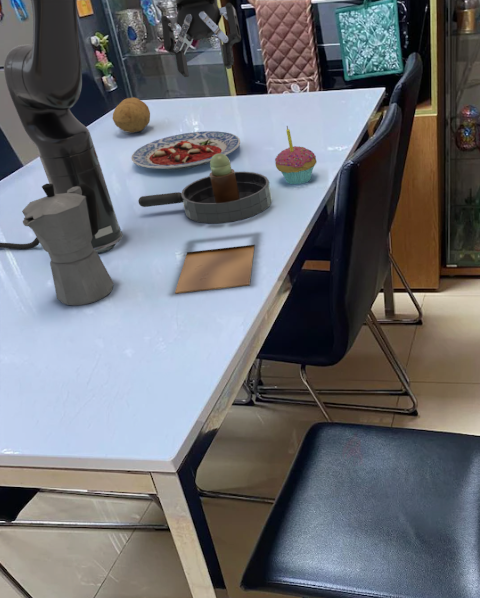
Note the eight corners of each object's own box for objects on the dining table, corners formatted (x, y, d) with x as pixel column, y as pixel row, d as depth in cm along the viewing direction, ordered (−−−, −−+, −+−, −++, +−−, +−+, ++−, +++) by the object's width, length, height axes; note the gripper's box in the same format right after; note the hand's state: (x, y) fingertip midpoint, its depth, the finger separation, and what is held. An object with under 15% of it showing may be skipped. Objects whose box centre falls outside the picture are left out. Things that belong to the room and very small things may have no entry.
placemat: (175, 293, 113) (175, 292, 113) (190, 242, 129) (190, 240, 129) (249, 285, 113) (249, 283, 113) (256, 234, 129) (255, 233, 128)
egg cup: (215, 211, 137) (204, 159, 131) (217, 202, 141) (206, 151, 135) (240, 209, 137) (229, 156, 131) (241, 199, 141) (231, 148, 135)
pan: (181, 231, 133) (175, 208, 130) (192, 198, 146) (187, 177, 144) (270, 221, 133) (266, 198, 130) (273, 189, 146) (270, 167, 143)
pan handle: (139, 209, 138) (136, 199, 136) (141, 205, 139) (138, 195, 138) (184, 203, 137) (182, 193, 136) (186, 200, 139) (183, 190, 138)
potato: (154, 121, 197) (147, 90, 192) (153, 135, 187) (144, 103, 182) (119, 126, 197) (110, 96, 192) (116, 141, 186) (106, 109, 181)
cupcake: (313, 190, 144) (305, 128, 136) (273, 191, 145) (263, 130, 138) (322, 175, 150) (315, 115, 142) (284, 176, 152) (275, 117, 144)
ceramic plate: (168, 185, 155) (164, 171, 153) (115, 163, 171) (111, 150, 169) (262, 151, 167) (260, 138, 165) (205, 134, 183) (202, 122, 181)
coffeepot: (84, 315, 110) (41, 202, 99) (37, 309, 114) (-9, 199, 102) (140, 271, 121) (108, 164, 110) (96, 266, 124) (60, 162, 113)
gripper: (148, -24, 128) (163, 71, 130) (223, -40, 125) (236, 57, 128) (165, -6, 135) (178, 84, 137) (236, -21, 132) (248, 71, 135)
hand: (206, 71), depth 132 cm, fingers open, 8 cm apart
